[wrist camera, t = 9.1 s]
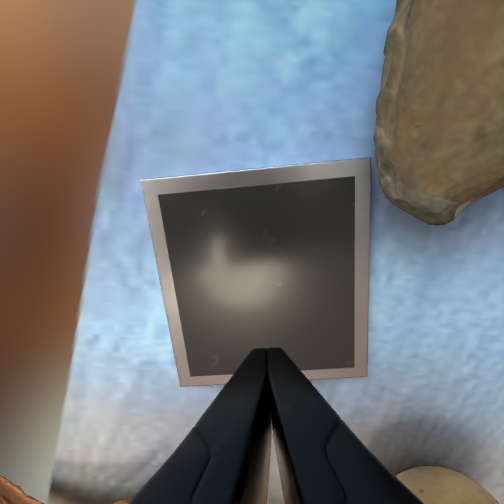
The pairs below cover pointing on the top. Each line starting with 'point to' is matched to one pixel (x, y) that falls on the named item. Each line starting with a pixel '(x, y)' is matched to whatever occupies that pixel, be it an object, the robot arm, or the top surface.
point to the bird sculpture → (15, 500)
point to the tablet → (265, 266)
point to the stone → (441, 107)
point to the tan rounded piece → (444, 486)
